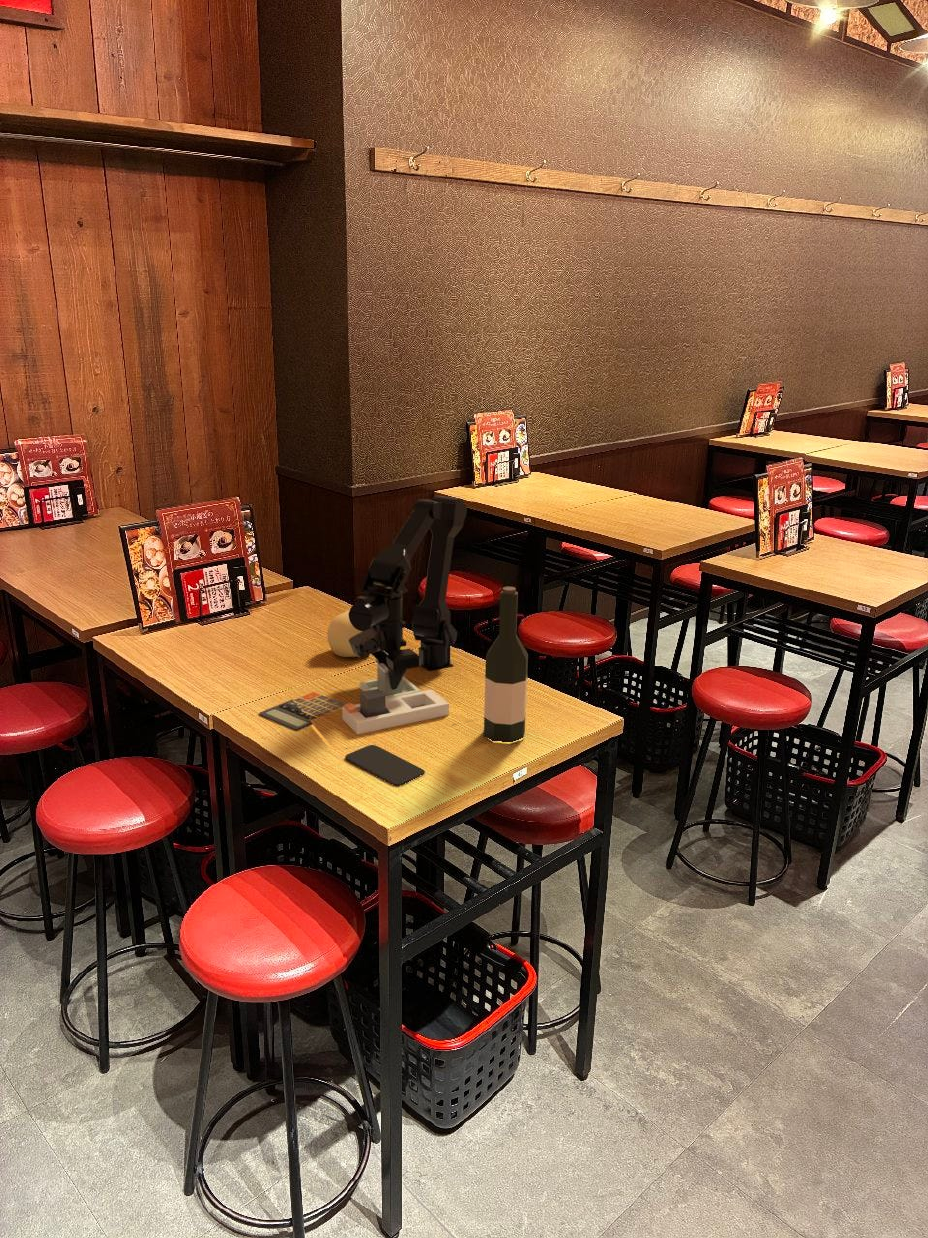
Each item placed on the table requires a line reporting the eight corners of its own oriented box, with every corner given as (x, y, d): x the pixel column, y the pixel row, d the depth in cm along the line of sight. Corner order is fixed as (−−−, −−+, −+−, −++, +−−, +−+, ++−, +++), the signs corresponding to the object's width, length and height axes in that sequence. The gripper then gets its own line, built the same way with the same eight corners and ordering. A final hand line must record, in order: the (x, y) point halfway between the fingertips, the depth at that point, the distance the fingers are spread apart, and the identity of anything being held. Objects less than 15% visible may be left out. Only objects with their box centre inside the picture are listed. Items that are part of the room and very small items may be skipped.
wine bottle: (512, 748, 171) (518, 597, 162) (475, 737, 176) (478, 590, 166) (533, 732, 178) (539, 586, 168) (496, 721, 182) (500, 579, 172)
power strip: (431, 702, 191) (431, 674, 189) (448, 717, 184) (449, 687, 182) (342, 720, 182) (341, 691, 179) (357, 736, 175) (356, 706, 173)
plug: (394, 686, 197) (394, 660, 195) (402, 693, 194) (402, 667, 192) (377, 689, 195) (377, 663, 193) (385, 696, 192) (384, 670, 190)
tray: (401, 681, 201) (401, 674, 200) (420, 698, 193) (420, 690, 192) (359, 689, 196) (359, 682, 196) (377, 706, 188) (377, 699, 188)
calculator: (351, 704, 188) (296, 728, 177) (351, 708, 188) (296, 732, 177) (313, 689, 195) (258, 712, 184) (313, 693, 195) (258, 716, 184)
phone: (397, 786, 157) (342, 756, 166) (397, 790, 157) (342, 760, 167) (427, 771, 162) (372, 743, 171) (427, 775, 162) (372, 747, 172)
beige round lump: (387, 655, 216) (386, 613, 212) (341, 665, 209) (340, 622, 206) (364, 641, 225) (363, 600, 221) (320, 650, 218) (318, 608, 215)
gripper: (336, 609, 193) (338, 677, 198) (370, 636, 177) (372, 709, 183) (384, 602, 198) (385, 668, 203) (421, 628, 182) (421, 699, 188)
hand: (389, 685), depth 194 cm, fingers closed on plug, 4 cm apart
